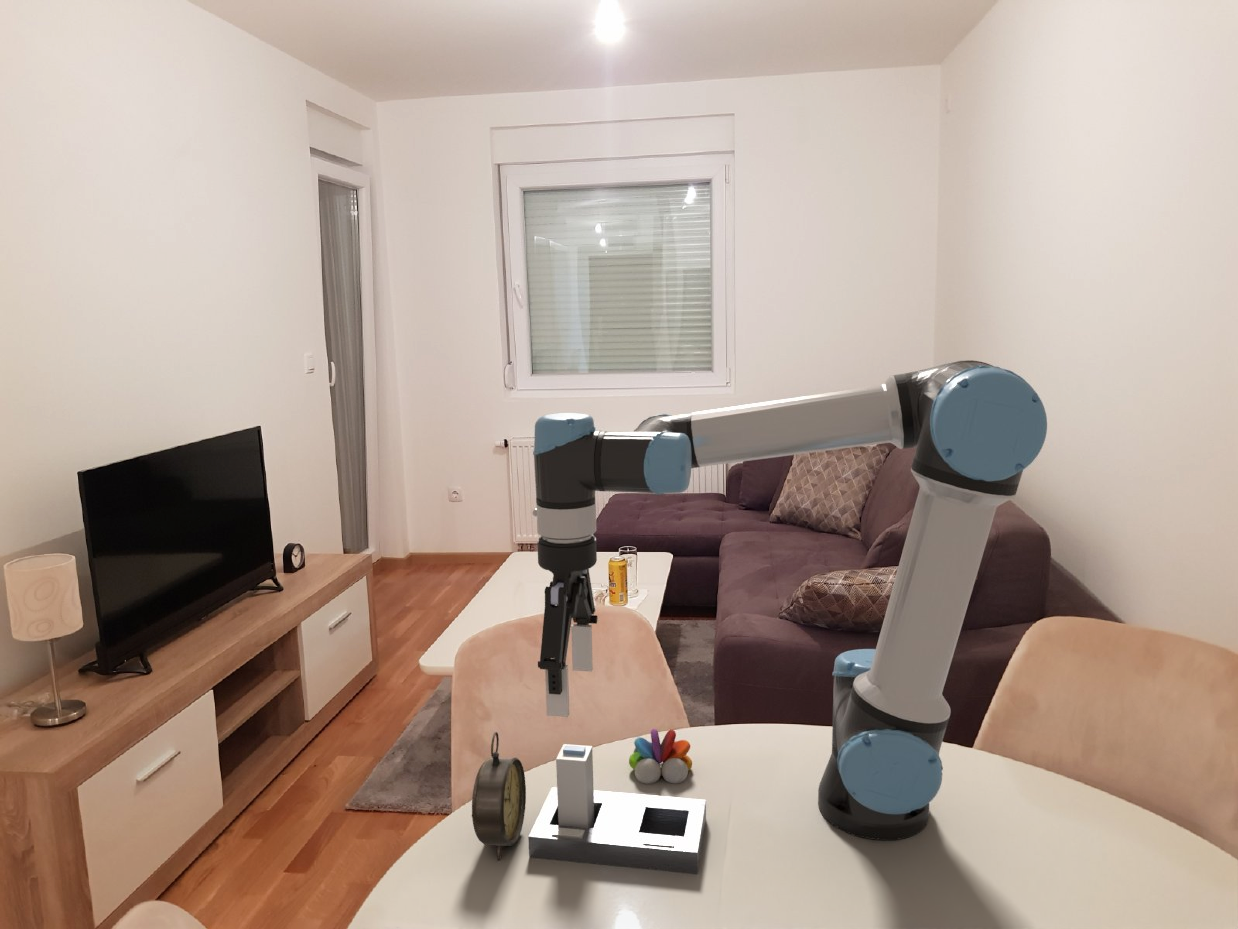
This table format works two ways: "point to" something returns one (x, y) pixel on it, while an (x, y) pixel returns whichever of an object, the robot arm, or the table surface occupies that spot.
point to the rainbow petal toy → (661, 758)
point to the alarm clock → (499, 800)
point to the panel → (625, 832)
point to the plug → (575, 786)
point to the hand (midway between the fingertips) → (571, 691)
